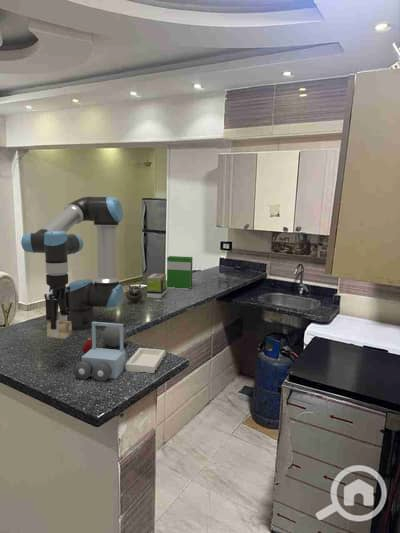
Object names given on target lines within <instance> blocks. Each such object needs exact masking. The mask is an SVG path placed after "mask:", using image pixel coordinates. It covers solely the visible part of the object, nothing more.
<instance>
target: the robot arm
mask: <svg viewBox="0 0 400 533" xmlns="http://www.w3.org/2000/svg"><path fill="white" fill-rule="evenodd" d="M123 216H124V211H123V207H122V204H121V202H120V200H119V199H118V198H117V197H113V196H112V197H111V196H110V197H109V196H84V197H80V198H78V199H75V200H73V201H72V202H70V203H68V204H67V205H66V206H65V207H64V208H63V211H62V212H60V213H59V214H58V215H56V217H54V218H53V219H51V220H50V221H49V222H48V223H46V224H45V225H44V226H42V227H40V228H39V229H38V230H37V231H36V232H29V233H27V232H26V233H24V234H23V235H22V236H21V242H20V244H21V247H22V250H24V251H25V252H26V253H34V254H39V253H40V254H41V253H42V254H44V257H45V259H44V260H45V274H46V275H45V281H46V285H47V286H49V290H48V293H45V294H44V295H43V296H44V299H45V300H44V301H45V319H46V321H50V322H51V337H50V338H52V337H55V338H54V339H60V338H59V320H61V321H71V325H72V331H81V330H84V331H85V330H90V329H92V322H98V319H97V317H96V314H95V312H94V307H98V308H108V309H109V308H117V307H119V305H120V304H121V301H122V299H123V295H124V294H123V293H124V288H123V285H122V284H120V281H119V278H117V275H116V263H117V262H116V229H117V228H118V227H119V224H120V222H122V221H123ZM81 222H93V226H94V227H95V228H96V233H97V235H96V236H97V237H96V240H97V241H96V242H97V244H96V246H97V247H96V248H97V257H96V258H97V277H96V279H94V282H93V280H92V279H89V278H88V279H79V280H74V281H71V282H69V274H68V272H69V265H68V255H74V254H77V253H79V252H80V251H82V249H83V247H84V240H83V238H82V237H81V236H80V235H79V234H77V233H69V234H67V232H68V231H69V230H70V229H72V227H74V225H78V224H80V223H81ZM67 285H68V286H67ZM59 311H60V312H59ZM58 313H60V315H59V314H58ZM58 316H59V319H58ZM50 322H49V323H50ZM95 326H97V325H95Z"/></svg>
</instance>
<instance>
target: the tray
mask: <svg viewBox="0 0 400 533" xmlns="http://www.w3.org/2000/svg"><path fill="white" fill-rule="evenodd" d="M164 357H165V358H166V349H157V348H145V347H138V349H137V350H136V351H135V353H134V354H133V355H131V357H130V358H129V359H128V360H127V362H125V372H133V373H139V372H147V373H146V374H149V373H154V372H155V370H156V369H157V367H158V366H159V367H160V365H161V364H162V362H163V361H164V359H165V358H164ZM163 358H164V359H163ZM162 360H163V361H162ZM161 361H162V362H161ZM160 363H161V364H160ZM159 364H160V365H159ZM159 367H158V368H159ZM157 370H158V369H157ZM157 370H156V371H157ZM155 373H156V372H155ZM155 373H154V374H155Z"/></svg>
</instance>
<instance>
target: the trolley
mask: <svg viewBox="0 0 400 533" xmlns="http://www.w3.org/2000/svg"><path fill="white" fill-rule="evenodd" d="M95 325H96V326H98V327H99V326H100V327H107V326H109V327H120V345H119V349H111V348H99V347H98V348H96V344H97V341H96V340H97V339H96V338H97V337H96V336H97V335H96V333H97V332H96V331H97V330H96V326H95ZM123 328H124V323H115V322H99V321H97V322H92V328H91V340H92V349H91V350H89V351H88V352H87V353H86V354H83V355H82V356H81V361H79V362H78V363H77V364H76V365H75V366H74V367H73V373H74V375H75V377H76V378H77V379H80V380H87V379H88V378H89V377H93V378H94V379H95V380H96V381H98V382H105V381H107V380H108V379H112V378H114V380H117V379H116V378H119V376H120V375H121V374H122V373H123V372H124V370H126V366H125V364H126V350H125V349H124V342H123Z"/></svg>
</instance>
